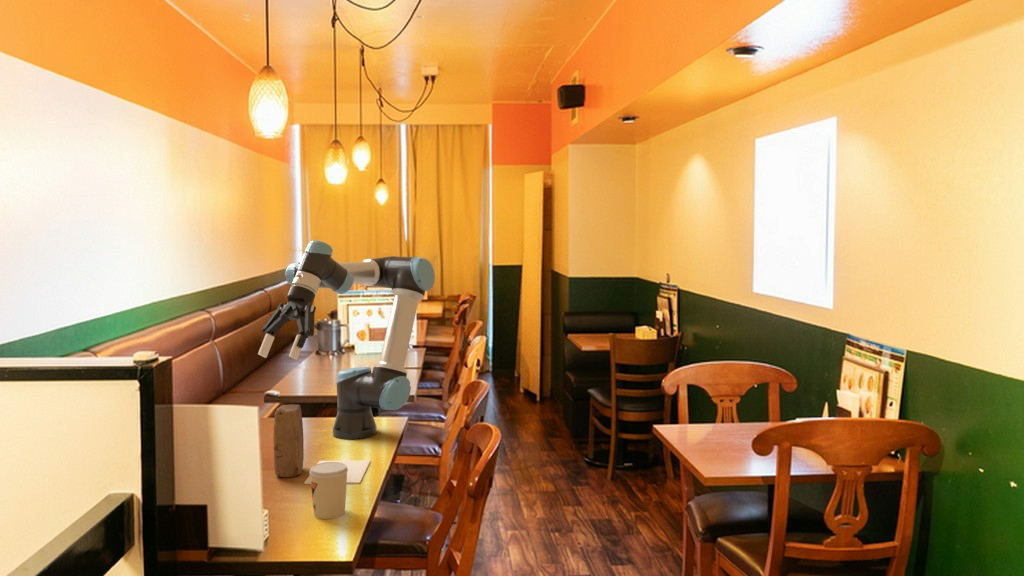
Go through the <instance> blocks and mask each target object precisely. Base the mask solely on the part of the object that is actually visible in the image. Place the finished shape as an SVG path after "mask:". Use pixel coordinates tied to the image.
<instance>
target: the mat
mask: <svg viewBox="0 0 1024 576" xmlns="http://www.w3.org/2000/svg"><path fill="white" fill-rule="evenodd" d="M325 462H339V463H343V464H345V465H346V467H347V468H348V471H347V484H348V485H349V484H350V485H351V484H352V485H359V484H361V482H362V480H363V478H364V476H365V473H366V471H367V469H368V467H369V465H370V463H371V460H370V459H369V460H361V459H360V460H319V461H318V462H317V464H320V463H325ZM303 484H304V485H311V476H310V474H309V475H308V477H307V478H306V479H305V480H304V483H303ZM347 484H346V485H347Z"/></svg>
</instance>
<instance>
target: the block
mask: <svg viewBox="0 0 1024 576" xmlns="http://www.w3.org/2000/svg"><path fill="white" fill-rule="evenodd" d="M303 425H304V424H303V416H302V408H301V405H300V404H291V403H290V404H282V405H280V406H279V407H277V409H276V411H275V412H274V422H273V463H274V465H273V466H274V473H275V476H276V477H279V478H293V477H296V476H299V474H300V475H301V474H302V472H303V467H304V460H305V459H304V455H305V452H304V450H305V449H304V447H305V445H304V443H305V441H304V426H303Z"/></svg>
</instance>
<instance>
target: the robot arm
mask: <svg viewBox="0 0 1024 576" xmlns="http://www.w3.org/2000/svg"><path fill="white" fill-rule="evenodd" d="M332 254H333V248H332V246H331V245H330V244H328V243H326V242H324V241H321V240H315V239H314V240H311V241H309V242H308V244H307V247H305V250H304V252H303V255H302V258H301V260H300V262H293V263H290V264H289V265H288V266H287V268H286V269H285V279H286V282H287V284H289V285H290V288H289V291H288V292H287V295H286V298H287V300H288V302H287V303H286V304H283V303H282V302H279V304H278V306H277V308H276V310H275V311H274V313H272V315H271V316H270V317H269V319H268V320H267V322H266V323H265V324H264V325H263V326H262V328H261V332H263V333H264V336H263V338H262V341H261V346H260V347H259V350H258V353H257V355H259V356H261V357H262V358H264V359H267V357H268V355H269V352H270V350H271V347H272V345H273V343H274V340H275V335H276V334H277V333H278V332H279V331H280V330H281V329H282V328H283V327H284V326H285V325H286V324H287V323H288V322H289V323H290V322H291V321H296V323H297V328H298V332H297V334H296V336H295V339H294V341H293V344H292V347H291V349H290V352H289V354H288V357H290V358H291V359H293V360H295V361H298V360H299V357H300V354H301V351H302V349H303V348H304V346H305V343H306V340H307V339H308V338H309V337H313V336H314V335H315V312H316V309H317V307H316V306H315V305H313V303H314V301H315V298H316V295H317V293H318V291H319V288H320V289H330V290H332V291H333V292H335V293H336V294H339V295H344V294H345V293H347V292H349V291H350V289H351V288H353V286H354V285H360V284H361V285H365V286H366V287H378V288H386V289H391V293H392V294H393V296H394V297H393V302H392V306H391V311H390V315H389V319H388V324H387V327H386V331H385V335H384V339H383V344H382V349H381V355H380V357H379V362H378V363H377V364H375V365H373V369H372V368H371V367H370V366H358V367H352V368H346V369H342V370H340V371H338V372H337V376H336V399H337V401H336V402H337V411H336V412H337V414H336V416H335V420H334V423H333V425H332V436H333V437H335V438H337V439H343V440H359V439H358V438H360V439H366V438H369V437H372V436H375V435H376V434H377V433H378V432H377V431H378V430H377V428H378V427H377V423H376V421H375V418H374V415H373V411H372V408H373V409H382V410H385V411H389V410H390V411H396V410H400V409H402V407H403V406H405V405H406V403H407V402H408V400H409V397H410V394H411V389H412V386H411V381H410V380H409V378H407V376H408V372H407V370H406V369H405V364H406V359H407V355H408V352H409V351H408V350H409V346H410V341H411V338H412V337H411V336H412V332H413V328H414V325H415V324H414V323H415V319H416V314H417V310H418V305H419V302H420V301H421V300H423V299H424V297H425V294H426V292H428V291H430V290H432V288H433V287H434V285H435V280H436V279H435V278H436V274H435V273H436V272H435V269H434V266H433V264H432V262H431V261H430V260H429V259H427V258H426V257H421V256H420V257H418V256H397V255H396V256H392V255H391V256H384V257H378V258H377V257H376V258H366V259H363V260H362V261H348V262H346V261H345V262H344V261H343V262H337V261H336V260H334V258H333V257H332V256H333V255H332ZM365 437H366V438H365Z"/></svg>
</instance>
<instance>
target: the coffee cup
mask: <svg viewBox="0 0 1024 576" xmlns="http://www.w3.org/2000/svg"><path fill="white" fill-rule="evenodd" d="M347 471H348V468H347V467H346V465H345V464H343V463H339V462H325V463H320V464H318V463H317V464H315V465H313V466H311V468H310V469H309V475H310V476H311V484H310V487H311V498H312V499H311V500H312V510H313V515H314V517H315V518H317V519H321V520H331V519H336V518H340V517H342V516H343V515H345V513H346V498H347Z"/></svg>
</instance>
